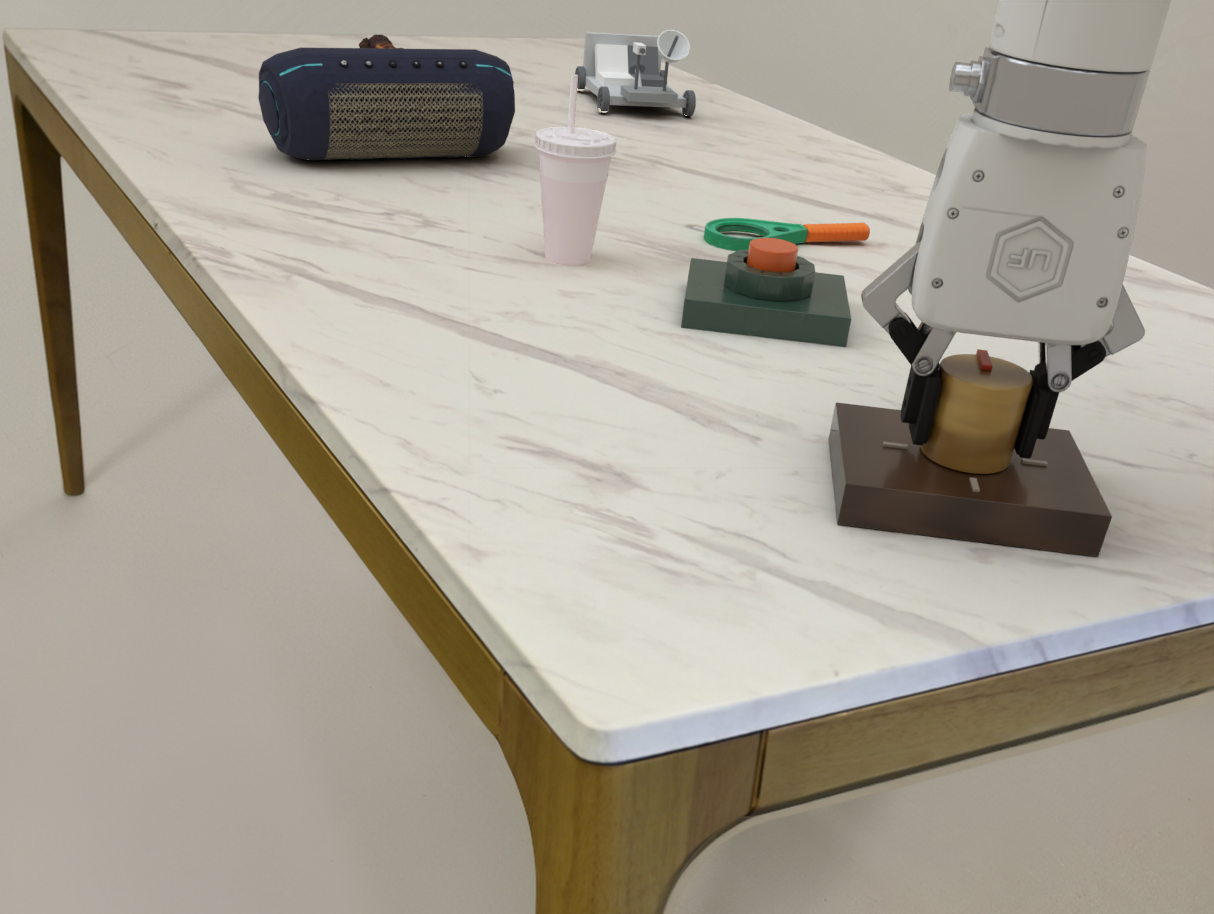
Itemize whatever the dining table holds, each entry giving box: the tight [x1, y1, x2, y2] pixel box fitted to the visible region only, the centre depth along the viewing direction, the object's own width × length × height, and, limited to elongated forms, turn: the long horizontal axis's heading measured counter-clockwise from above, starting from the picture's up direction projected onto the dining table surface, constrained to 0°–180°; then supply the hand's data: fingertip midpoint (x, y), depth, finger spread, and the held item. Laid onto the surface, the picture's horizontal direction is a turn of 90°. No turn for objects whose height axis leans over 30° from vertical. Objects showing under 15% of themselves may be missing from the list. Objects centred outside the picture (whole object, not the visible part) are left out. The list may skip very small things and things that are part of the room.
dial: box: [920, 348, 1033, 474], centre depth 70 cm, size 5×5×5 cm
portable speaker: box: [257, 47, 516, 161], centre depth 123 cm, size 25×10×10 cm, turn 115°
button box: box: [680, 250, 852, 348], centre depth 95 cm, size 12×10×4 cm
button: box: [747, 237, 799, 273], centre depth 93 cm, size 4×4×2 cm
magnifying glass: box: [703, 217, 871, 252], centre depth 112 cm, size 15×6×2 cm, turn 105°
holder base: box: [828, 402, 1113, 558], centre depth 72 cm, size 14×11×3 cm
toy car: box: [574, 29, 697, 117], centre depth 154 cm, size 18×10×12 cm
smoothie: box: [534, 73, 617, 267], centre depth 99 cm, size 6×6×14 cm
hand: (968, 438), depth 71 cm, fingers closed on dial, 5 cm apart
